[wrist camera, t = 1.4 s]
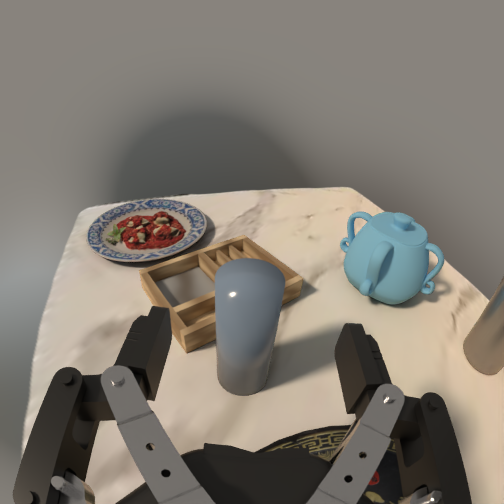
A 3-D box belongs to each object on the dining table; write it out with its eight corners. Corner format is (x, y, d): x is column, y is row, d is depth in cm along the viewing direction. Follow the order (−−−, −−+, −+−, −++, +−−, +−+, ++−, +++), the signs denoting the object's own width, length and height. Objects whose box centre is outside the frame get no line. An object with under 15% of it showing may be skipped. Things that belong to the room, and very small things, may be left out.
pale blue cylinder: (247, 348, 37) (255, 251, 29) (277, 379, 33) (299, 284, 25) (207, 369, 34) (201, 271, 26) (237, 404, 30) (242, 313, 22)
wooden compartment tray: (242, 250, 56) (243, 234, 54) (299, 295, 46) (303, 278, 44) (142, 287, 45) (139, 270, 43) (186, 353, 36) (183, 335, 34)
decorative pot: (430, 316, 43) (464, 249, 36) (346, 311, 44) (371, 235, 36) (404, 261, 57) (425, 203, 49) (333, 253, 57) (348, 189, 50)
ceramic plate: (199, 203, 73) (199, 192, 71) (216, 263, 53) (216, 249, 51) (99, 212, 66) (97, 201, 65) (77, 276, 46) (72, 263, 44)
